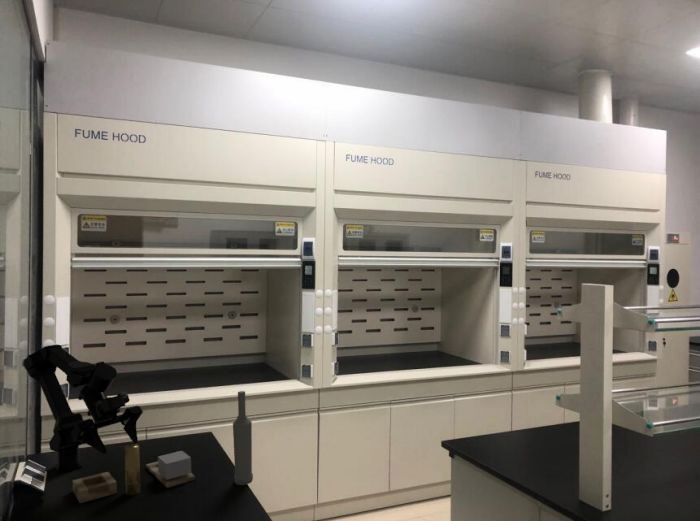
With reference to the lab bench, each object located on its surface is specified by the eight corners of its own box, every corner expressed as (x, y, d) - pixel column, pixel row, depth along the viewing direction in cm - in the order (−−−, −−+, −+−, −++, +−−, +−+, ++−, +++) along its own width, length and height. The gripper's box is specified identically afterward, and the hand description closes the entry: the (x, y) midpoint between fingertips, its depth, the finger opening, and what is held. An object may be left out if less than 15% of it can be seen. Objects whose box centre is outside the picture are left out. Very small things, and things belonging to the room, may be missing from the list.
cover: (158, 471, 154) (157, 456, 154) (182, 465, 158) (181, 450, 158) (166, 479, 149) (166, 463, 149) (191, 472, 153) (190, 457, 153)
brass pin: (124, 492, 145) (123, 446, 145) (138, 488, 147) (136, 442, 147) (128, 496, 142) (126, 449, 142) (142, 492, 144) (140, 446, 144)
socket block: (72, 491, 146) (72, 480, 146) (108, 482, 152) (107, 471, 152) (80, 503, 139) (79, 491, 139) (116, 493, 145) (116, 482, 144)
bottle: (256, 478, 152) (254, 390, 152) (247, 486, 147) (244, 395, 147) (240, 476, 154) (238, 389, 153) (230, 484, 149) (228, 393, 148)
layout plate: (146, 467, 161) (146, 463, 161) (172, 460, 166) (172, 456, 166) (166, 487, 147) (166, 483, 147) (195, 479, 152) (195, 475, 152)
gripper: (75, 392, 142) (100, 441, 136) (138, 377, 158) (163, 421, 152) (60, 417, 147) (84, 465, 141) (123, 401, 162) (146, 444, 156)
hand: (121, 447), depth 147 cm, fingers open, 9 cm apart
